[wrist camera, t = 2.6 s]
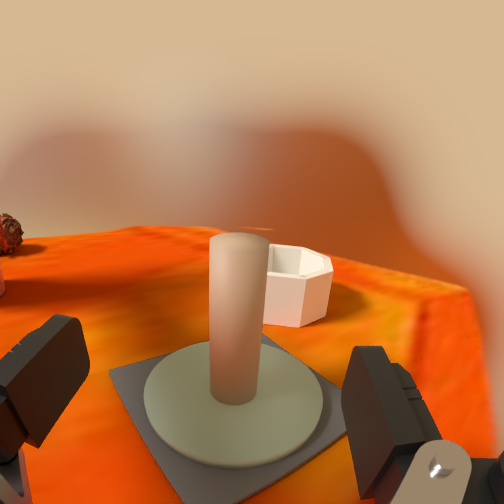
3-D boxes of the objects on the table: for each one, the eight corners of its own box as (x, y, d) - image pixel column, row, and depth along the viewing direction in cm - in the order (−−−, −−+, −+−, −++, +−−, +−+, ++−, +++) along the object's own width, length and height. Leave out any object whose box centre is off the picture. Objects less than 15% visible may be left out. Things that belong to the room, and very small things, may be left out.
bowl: (222, 296, 42) (223, 252, 40) (284, 279, 48) (288, 241, 46) (277, 336, 33) (283, 286, 31) (341, 309, 40) (349, 265, 38)
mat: (109, 374, 25) (108, 370, 25) (252, 329, 34) (252, 326, 34) (198, 522, 13) (198, 519, 13) (369, 413, 23) (371, 409, 22)
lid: (122, 374, 25) (100, 227, 20) (250, 333, 33) (259, 209, 29) (203, 501, 14) (186, 327, 10) (355, 409, 22) (399, 257, 18)
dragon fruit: (28, 260, 51) (-14, 269, 49) (34, 226, 56) (-6, 236, 53) (7, 234, 44) (-35, 245, 42) (17, 200, 48) (-24, 212, 46)
